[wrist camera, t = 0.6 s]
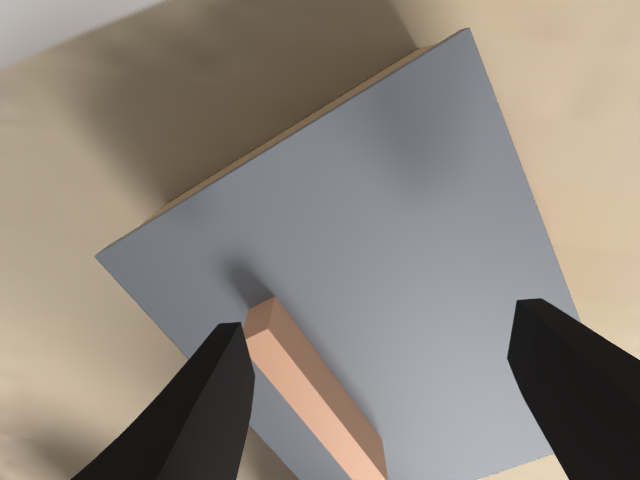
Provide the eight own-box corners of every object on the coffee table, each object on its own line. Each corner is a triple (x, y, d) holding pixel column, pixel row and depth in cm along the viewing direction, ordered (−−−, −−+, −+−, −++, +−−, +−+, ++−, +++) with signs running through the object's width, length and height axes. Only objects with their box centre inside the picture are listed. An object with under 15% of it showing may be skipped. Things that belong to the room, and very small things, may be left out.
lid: (340, 509, 21) (342, 570, 18) (105, 247, 15) (59, 284, 12) (610, 416, 18) (657, 474, 15) (460, 30, 11) (498, 19, 9)
